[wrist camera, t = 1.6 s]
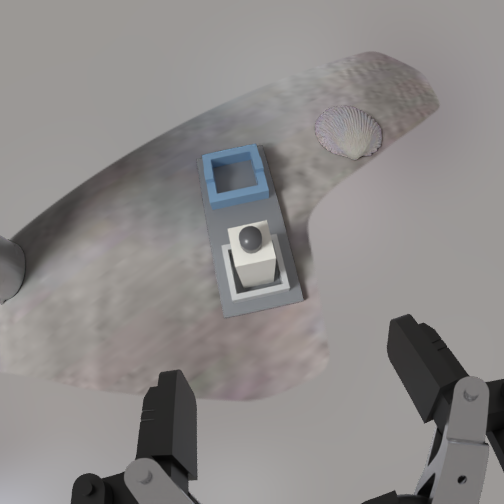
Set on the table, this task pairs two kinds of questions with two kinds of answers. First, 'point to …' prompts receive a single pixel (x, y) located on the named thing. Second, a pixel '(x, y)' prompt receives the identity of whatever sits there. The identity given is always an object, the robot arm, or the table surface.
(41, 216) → the table surface
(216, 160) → the socket
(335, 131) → the seashell
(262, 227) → the white knobbed square peg
